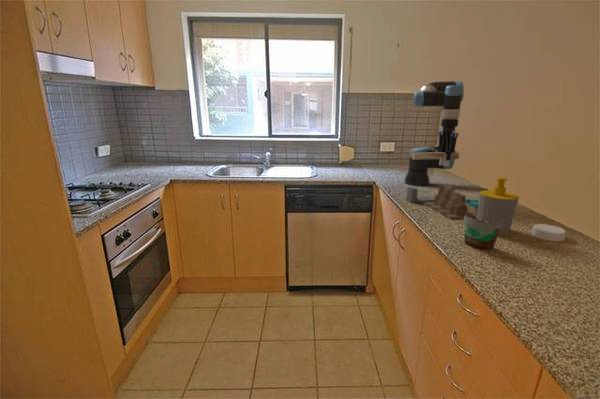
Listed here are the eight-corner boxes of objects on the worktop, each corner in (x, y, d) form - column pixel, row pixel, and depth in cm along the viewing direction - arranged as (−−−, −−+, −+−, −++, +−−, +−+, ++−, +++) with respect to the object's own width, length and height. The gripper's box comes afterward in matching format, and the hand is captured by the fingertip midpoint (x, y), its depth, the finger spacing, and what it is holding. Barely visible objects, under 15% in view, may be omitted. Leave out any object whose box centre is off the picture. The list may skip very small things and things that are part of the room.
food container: (454, 243, 112) (458, 217, 109) (460, 238, 116) (464, 213, 113) (493, 254, 103) (498, 226, 100) (498, 248, 107) (503, 221, 105)
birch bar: (410, 158, 158) (411, 152, 157) (455, 157, 160) (455, 152, 160) (413, 159, 155) (414, 153, 154) (458, 158, 157) (459, 152, 157)
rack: (405, 199, 166) (406, 186, 164) (447, 198, 169) (448, 185, 167) (410, 202, 160) (411, 189, 158) (453, 201, 163) (455, 188, 161)
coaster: (532, 229, 125) (534, 221, 124) (564, 236, 119) (566, 227, 118) (530, 237, 117) (532, 228, 116) (564, 244, 111) (566, 235, 110)
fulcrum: (425, 204, 157) (427, 185, 154) (447, 203, 158) (450, 184, 156) (450, 219, 136) (453, 197, 133) (475, 218, 137) (479, 196, 135)
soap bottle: (510, 227, 127) (521, 176, 121) (512, 238, 116) (524, 183, 110) (474, 221, 133) (482, 173, 127) (473, 231, 123) (482, 179, 117)
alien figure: (455, 201, 164) (487, 213, 145) (456, 197, 163) (487, 209, 144) (486, 198, 169) (520, 209, 150) (487, 194, 168) (521, 205, 150)
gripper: (434, 118, 160) (429, 163, 166) (452, 119, 145) (445, 168, 151) (448, 118, 161) (442, 163, 167) (467, 119, 145) (460, 168, 152)
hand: (444, 165), depth 159 cm, fingers closed on birch bar, 3 cm apart
